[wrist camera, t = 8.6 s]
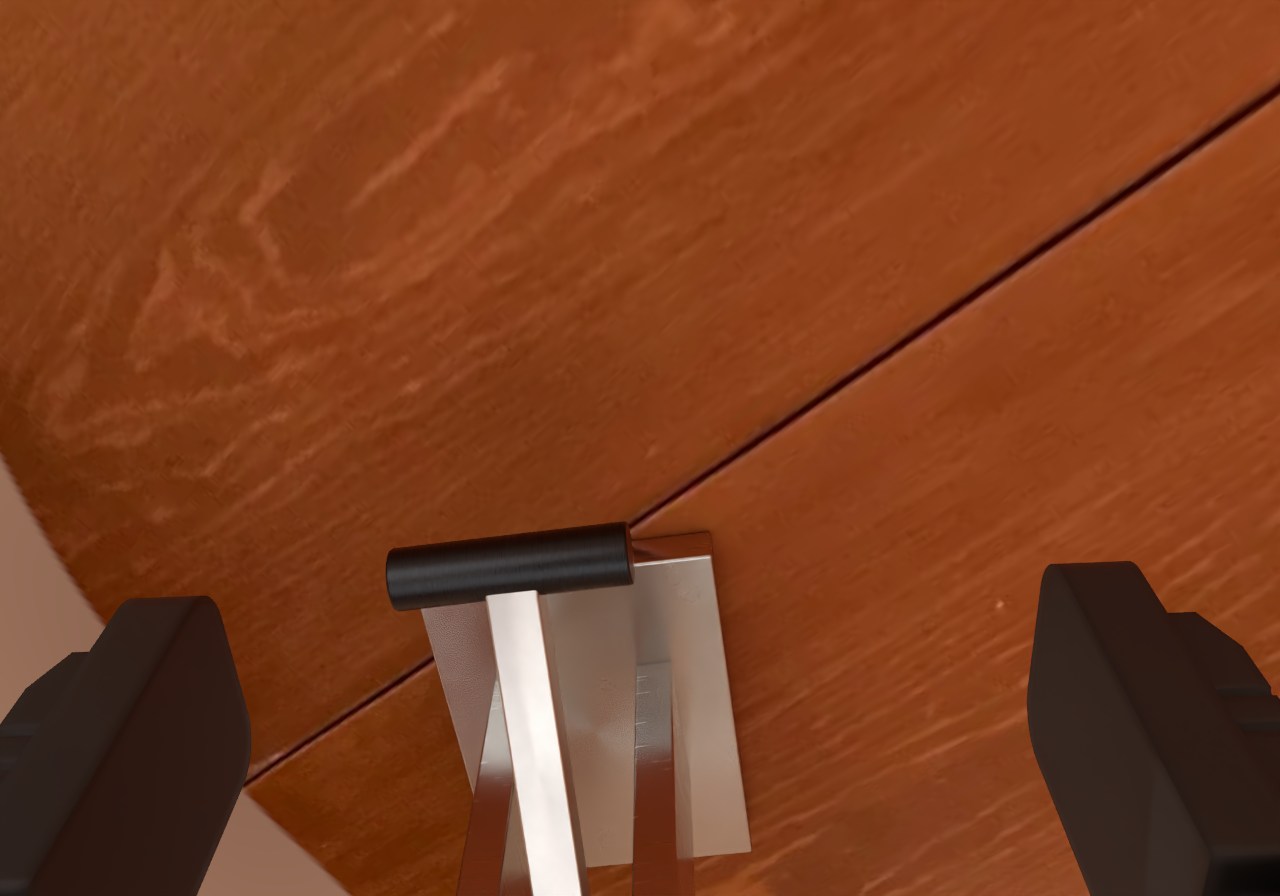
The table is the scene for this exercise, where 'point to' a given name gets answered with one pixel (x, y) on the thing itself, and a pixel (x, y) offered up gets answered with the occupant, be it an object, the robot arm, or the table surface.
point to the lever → (525, 662)
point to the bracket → (611, 725)
